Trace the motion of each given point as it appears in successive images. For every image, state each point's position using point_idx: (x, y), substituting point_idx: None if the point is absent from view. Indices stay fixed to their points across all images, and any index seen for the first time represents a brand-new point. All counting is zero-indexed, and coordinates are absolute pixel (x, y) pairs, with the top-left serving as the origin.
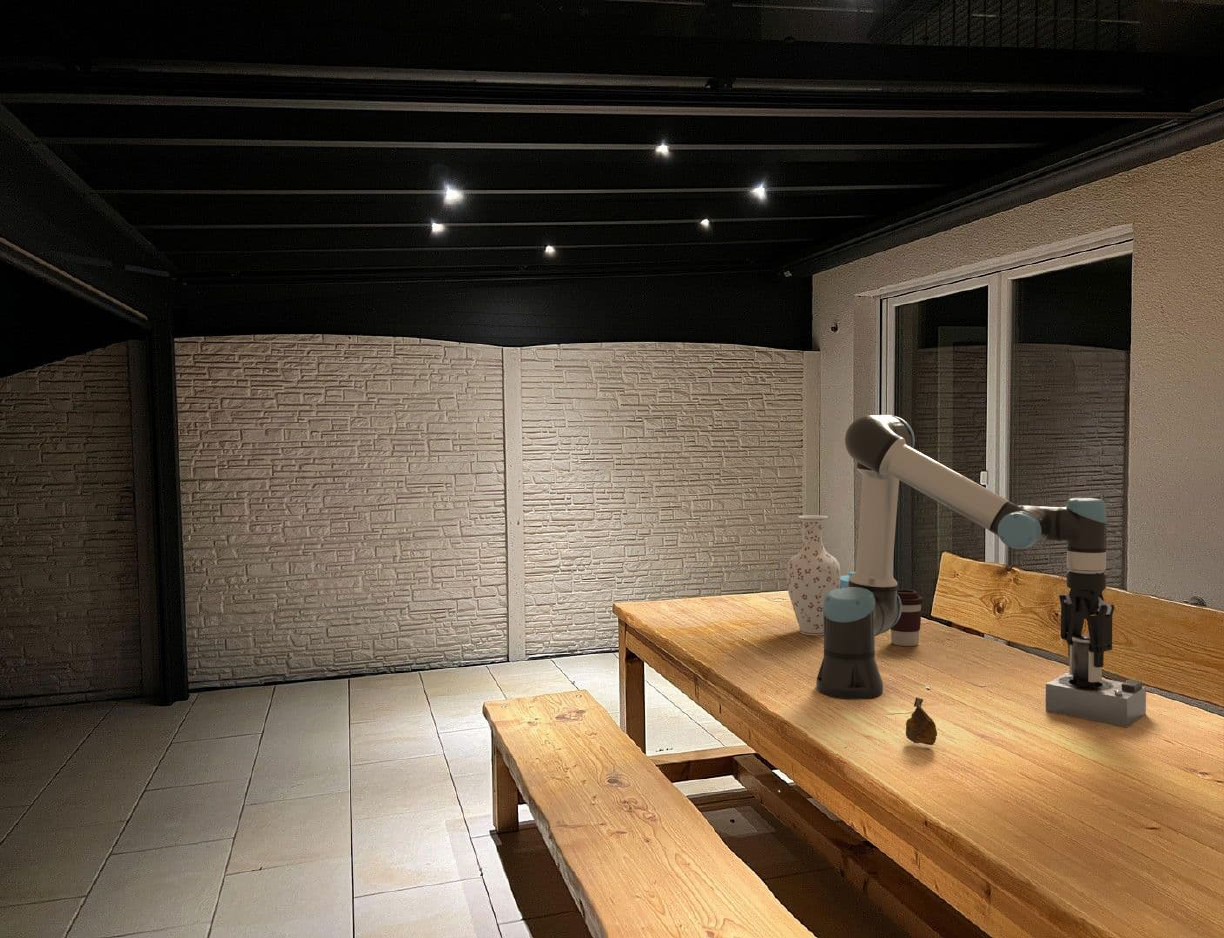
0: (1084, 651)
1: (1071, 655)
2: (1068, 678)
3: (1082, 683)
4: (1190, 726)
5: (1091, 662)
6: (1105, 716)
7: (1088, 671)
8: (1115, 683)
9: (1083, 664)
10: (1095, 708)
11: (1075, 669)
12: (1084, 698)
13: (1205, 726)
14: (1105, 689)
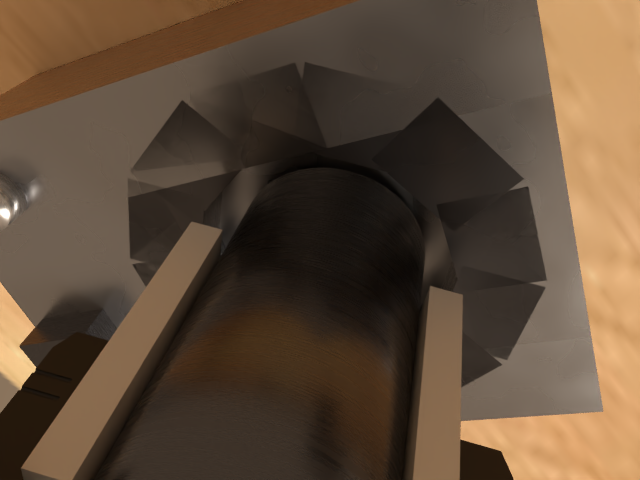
0: (123, 467)
1: (425, 452)
2: (491, 288)
3: (276, 204)
4: (10, 315)
5: (99, 357)
6: (105, 56)
7: (186, 288)
8: None
9: (207, 328)
10: (137, 50)
11: (318, 276)
12: (180, 46)
13: (2, 350)
14: (135, 236)
